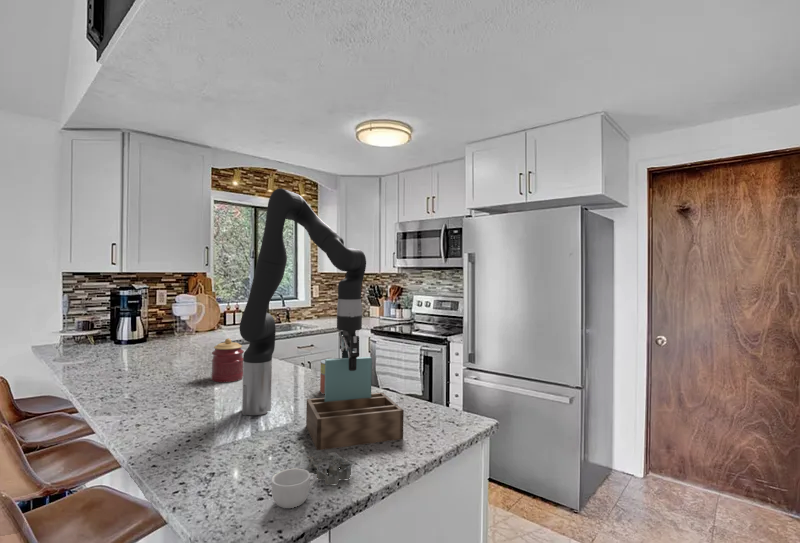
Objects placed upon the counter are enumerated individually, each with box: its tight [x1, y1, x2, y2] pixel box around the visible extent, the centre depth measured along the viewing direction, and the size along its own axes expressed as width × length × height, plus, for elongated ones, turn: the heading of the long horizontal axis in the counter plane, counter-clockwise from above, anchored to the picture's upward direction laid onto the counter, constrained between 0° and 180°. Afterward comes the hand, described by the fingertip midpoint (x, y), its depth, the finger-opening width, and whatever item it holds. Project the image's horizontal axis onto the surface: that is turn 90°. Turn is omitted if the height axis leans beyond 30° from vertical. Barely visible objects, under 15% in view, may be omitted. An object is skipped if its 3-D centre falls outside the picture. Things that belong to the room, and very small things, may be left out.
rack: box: [305, 392, 405, 451], centre depth 123 cm, size 24×18×10 cm
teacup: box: [271, 467, 317, 509], centre depth 89 cm, size 10×8×5 cm
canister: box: [210, 338, 245, 383], centre depth 185 cm, size 13×13×18 cm
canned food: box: [319, 357, 338, 395], centre depth 170 cm, size 11×11×12 cm
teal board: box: [323, 356, 373, 402], centre depth 129 cm, size 14×2×20 cm, turn 111°
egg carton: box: [306, 451, 355, 485], centre depth 101 cm, size 11×8×4 cm
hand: (348, 367), depth 129 cm, fingers open, 8 cm apart
